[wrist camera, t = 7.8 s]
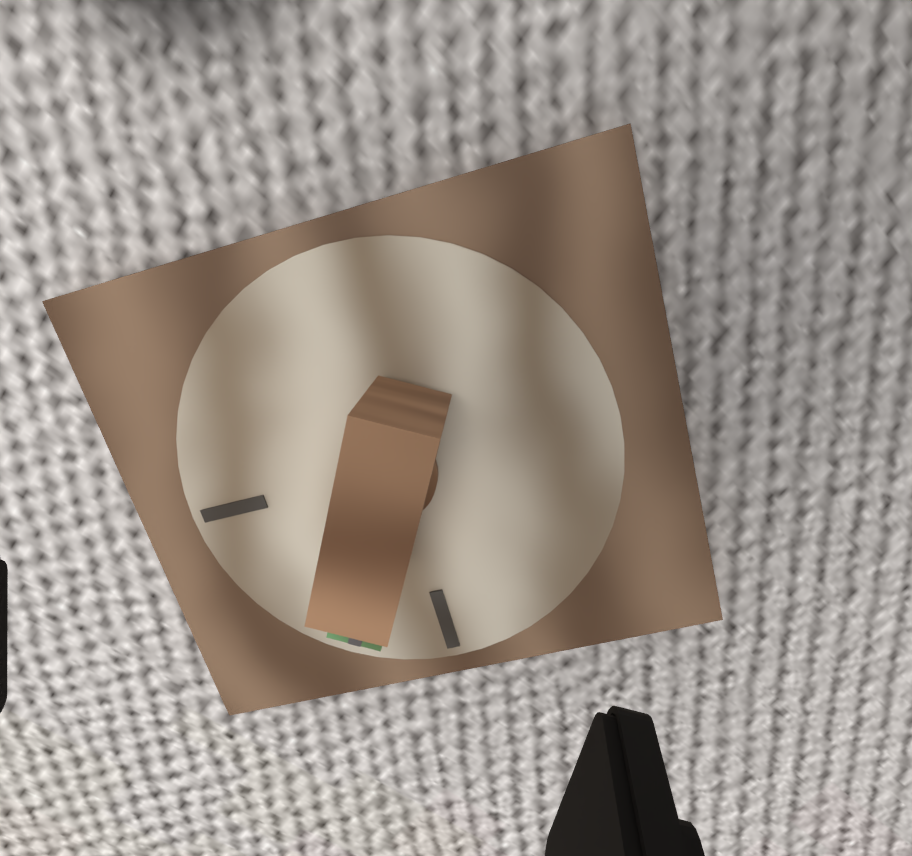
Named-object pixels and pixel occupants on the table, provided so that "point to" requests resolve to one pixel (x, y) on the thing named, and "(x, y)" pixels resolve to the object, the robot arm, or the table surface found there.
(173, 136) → the table surface
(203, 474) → the dial board
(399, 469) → the wing knob
